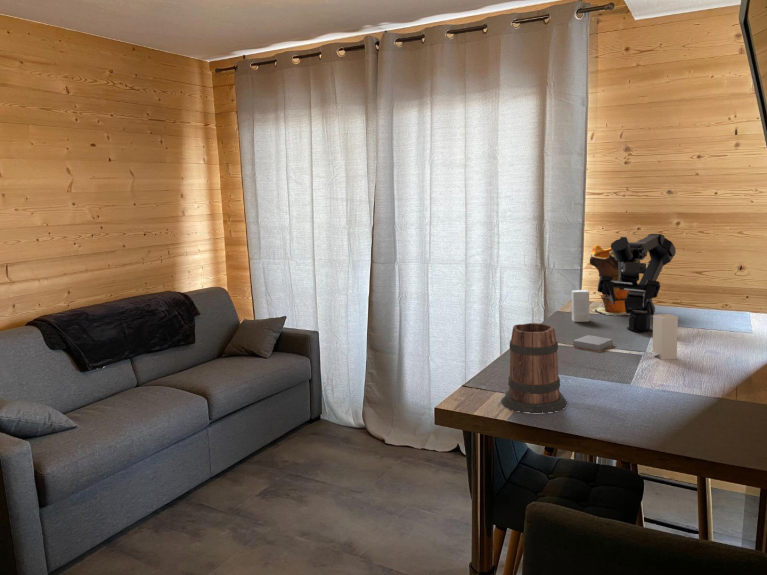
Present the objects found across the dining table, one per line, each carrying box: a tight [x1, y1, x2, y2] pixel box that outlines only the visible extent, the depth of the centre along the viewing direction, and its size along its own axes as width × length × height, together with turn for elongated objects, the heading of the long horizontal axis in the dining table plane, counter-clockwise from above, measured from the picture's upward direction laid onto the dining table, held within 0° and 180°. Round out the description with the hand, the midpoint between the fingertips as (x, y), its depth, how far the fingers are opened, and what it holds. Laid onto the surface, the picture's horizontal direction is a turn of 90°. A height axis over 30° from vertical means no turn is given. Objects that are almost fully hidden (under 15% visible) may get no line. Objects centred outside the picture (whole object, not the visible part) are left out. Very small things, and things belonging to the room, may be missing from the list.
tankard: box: [500, 322, 568, 413], centre depth 158 cm, size 24×17×20 cm
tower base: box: [569, 343, 617, 353], centre depth 200 cm, size 11×11×2 cm
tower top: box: [572, 334, 614, 352], centre depth 200 cm, size 9×9×2 cm
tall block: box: [652, 313, 679, 361], centre depth 187 cm, size 5×5×13 cm
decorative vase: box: [589, 244, 641, 316], centre depth 250 cm, size 21×23×28 cm
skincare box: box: [571, 289, 590, 323], centre depth 238 cm, size 6×4×12 cm
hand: (629, 305), depth 197 cm, fingers open, 9 cm apart
